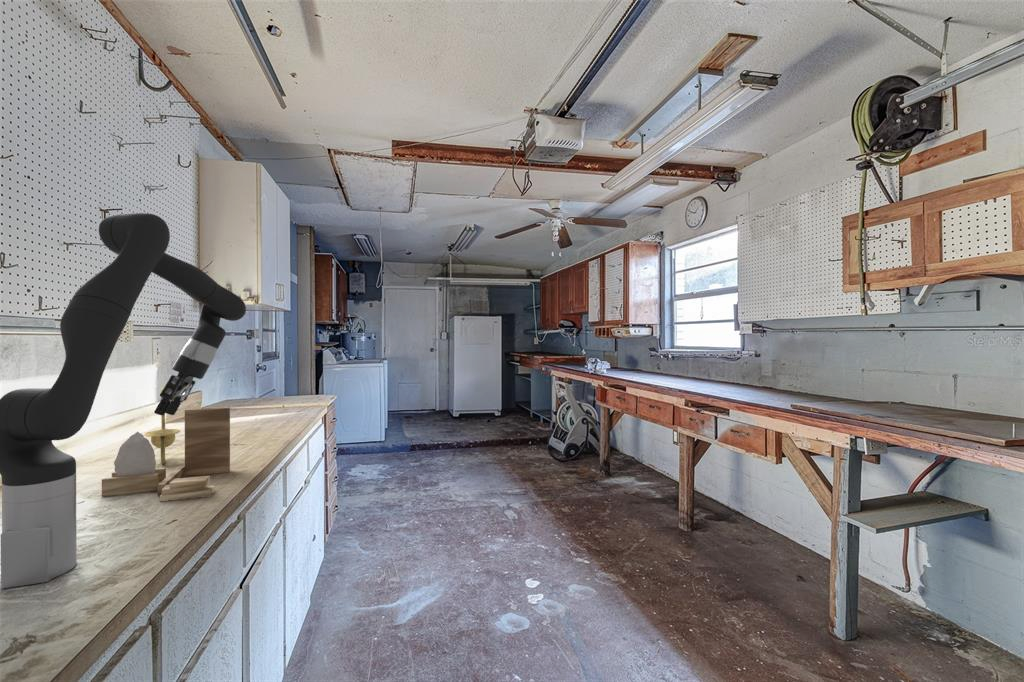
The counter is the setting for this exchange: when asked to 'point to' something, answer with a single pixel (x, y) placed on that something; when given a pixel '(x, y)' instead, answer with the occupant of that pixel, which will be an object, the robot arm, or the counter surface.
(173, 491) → the offcut stack
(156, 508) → the counter surface
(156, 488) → the holder
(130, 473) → the stone tool
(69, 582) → the counter surface
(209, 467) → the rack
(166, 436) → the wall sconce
